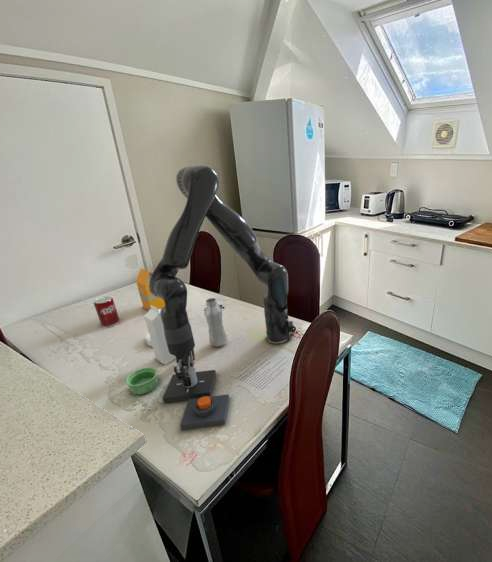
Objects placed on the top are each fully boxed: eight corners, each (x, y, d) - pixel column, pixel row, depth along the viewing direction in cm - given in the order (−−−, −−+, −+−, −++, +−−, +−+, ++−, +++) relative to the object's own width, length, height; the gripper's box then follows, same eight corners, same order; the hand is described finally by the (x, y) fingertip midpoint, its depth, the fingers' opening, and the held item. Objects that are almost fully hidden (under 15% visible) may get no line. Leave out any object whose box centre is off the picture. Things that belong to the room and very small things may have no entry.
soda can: (97, 325, 141) (89, 301, 136) (112, 317, 147) (105, 295, 142) (108, 328, 139) (100, 304, 134) (123, 320, 145) (116, 297, 140)
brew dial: (185, 379, 104) (181, 366, 102) (198, 377, 105) (196, 364, 102) (181, 388, 100) (178, 375, 98) (195, 386, 101) (192, 373, 98)
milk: (171, 351, 123) (158, 301, 114) (179, 357, 119) (167, 305, 111) (155, 359, 118) (141, 307, 109) (164, 365, 115) (149, 312, 106)
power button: (212, 399, 94) (211, 395, 93) (210, 408, 91) (209, 404, 90) (199, 401, 93) (198, 396, 93) (197, 410, 90) (196, 406, 89)
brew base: (216, 375, 109) (215, 369, 108) (210, 398, 99) (209, 391, 98) (174, 380, 107) (172, 374, 106) (164, 404, 97) (162, 397, 96)
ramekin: (127, 399, 99) (124, 388, 98) (131, 381, 107) (127, 371, 105) (158, 391, 103) (155, 380, 101) (160, 374, 110) (157, 364, 108)
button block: (229, 399, 99) (227, 389, 97) (225, 425, 90) (223, 414, 88) (190, 404, 97) (187, 394, 96) (181, 430, 88) (178, 420, 86)
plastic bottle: (222, 349, 123) (214, 304, 115) (207, 347, 124) (198, 303, 116) (230, 340, 129) (223, 297, 121) (215, 338, 130) (207, 295, 122)
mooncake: (168, 328, 138) (167, 321, 137) (184, 336, 132) (182, 329, 130) (141, 341, 129) (139, 333, 128) (156, 350, 123) (154, 343, 121)
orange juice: (158, 301, 162) (149, 265, 154) (167, 306, 157) (158, 269, 149) (142, 307, 156) (132, 270, 148) (151, 312, 151) (141, 274, 143)
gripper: (186, 348, 89) (197, 394, 96) (197, 323, 102) (205, 365, 109) (158, 351, 88) (171, 397, 95) (173, 325, 101) (183, 367, 108)
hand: (189, 380), depth 102 cm, fingers closed on brew dial, 4 cm apart
